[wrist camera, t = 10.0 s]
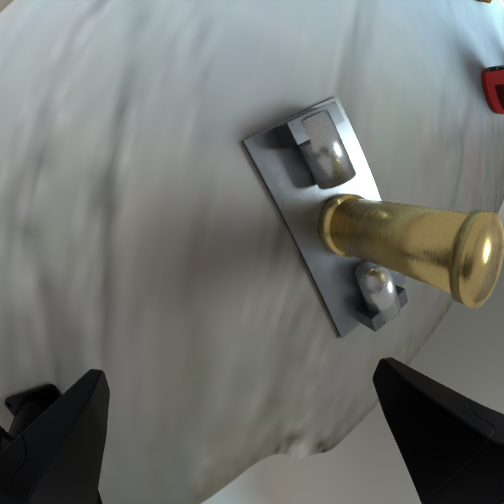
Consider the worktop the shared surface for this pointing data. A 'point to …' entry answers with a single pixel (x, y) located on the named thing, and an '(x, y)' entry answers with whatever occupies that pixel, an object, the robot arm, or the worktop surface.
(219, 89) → the worktop surface
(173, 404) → the worktop surface
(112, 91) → the worktop surface
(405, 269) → the gold flanged cylinder
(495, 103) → the canned food
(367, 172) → the shaft bed
